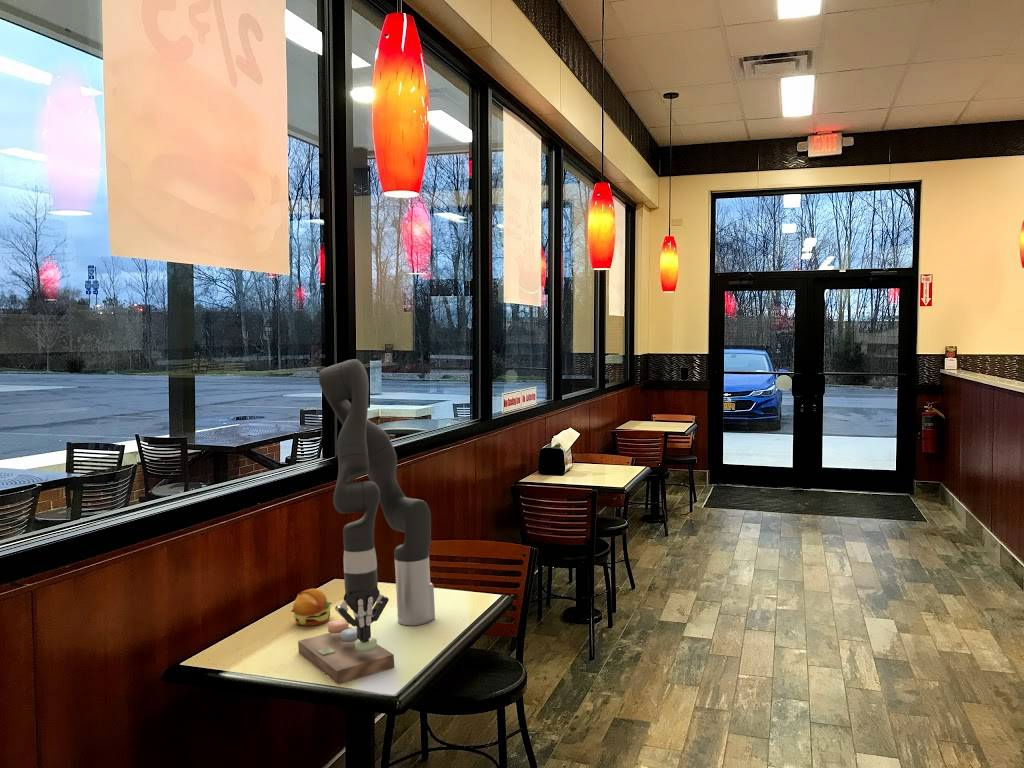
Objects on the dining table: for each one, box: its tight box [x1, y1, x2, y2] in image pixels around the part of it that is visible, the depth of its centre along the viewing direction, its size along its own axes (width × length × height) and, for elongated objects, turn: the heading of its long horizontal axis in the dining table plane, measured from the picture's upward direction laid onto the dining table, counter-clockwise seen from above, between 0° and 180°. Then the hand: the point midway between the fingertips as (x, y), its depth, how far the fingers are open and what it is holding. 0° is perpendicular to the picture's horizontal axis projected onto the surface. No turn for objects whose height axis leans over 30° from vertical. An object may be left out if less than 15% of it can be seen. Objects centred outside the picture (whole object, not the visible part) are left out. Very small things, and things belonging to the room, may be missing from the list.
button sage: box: [355, 636, 378, 652], centre depth 187 cm, size 5×5×2 cm
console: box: [297, 626, 395, 685], centre depth 193 cm, size 14×24×3 cm, turn 35°
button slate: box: [341, 627, 358, 642], centre depth 194 cm, size 5×5×2 cm
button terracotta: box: [327, 619, 350, 633], centre depth 201 cm, size 5×5×2 cm
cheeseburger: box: [290, 588, 333, 627], centre depth 221 cm, size 10×11×10 cm
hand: (364, 641), depth 187 cm, fingers closed
